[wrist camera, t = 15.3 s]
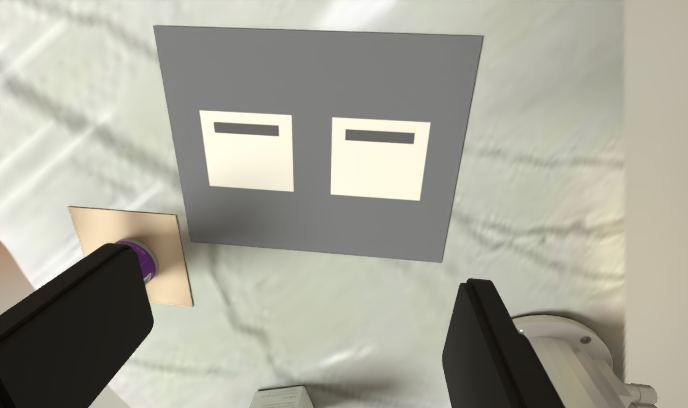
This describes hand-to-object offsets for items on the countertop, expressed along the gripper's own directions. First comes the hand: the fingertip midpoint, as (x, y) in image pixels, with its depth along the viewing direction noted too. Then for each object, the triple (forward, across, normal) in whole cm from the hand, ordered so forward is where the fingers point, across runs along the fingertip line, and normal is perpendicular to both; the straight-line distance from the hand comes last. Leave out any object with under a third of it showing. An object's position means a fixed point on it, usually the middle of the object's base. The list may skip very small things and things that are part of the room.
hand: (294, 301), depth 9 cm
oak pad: (+17, +19, +12) cm, 28 cm away
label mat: (+17, +2, 0) cm, 17 cm away
